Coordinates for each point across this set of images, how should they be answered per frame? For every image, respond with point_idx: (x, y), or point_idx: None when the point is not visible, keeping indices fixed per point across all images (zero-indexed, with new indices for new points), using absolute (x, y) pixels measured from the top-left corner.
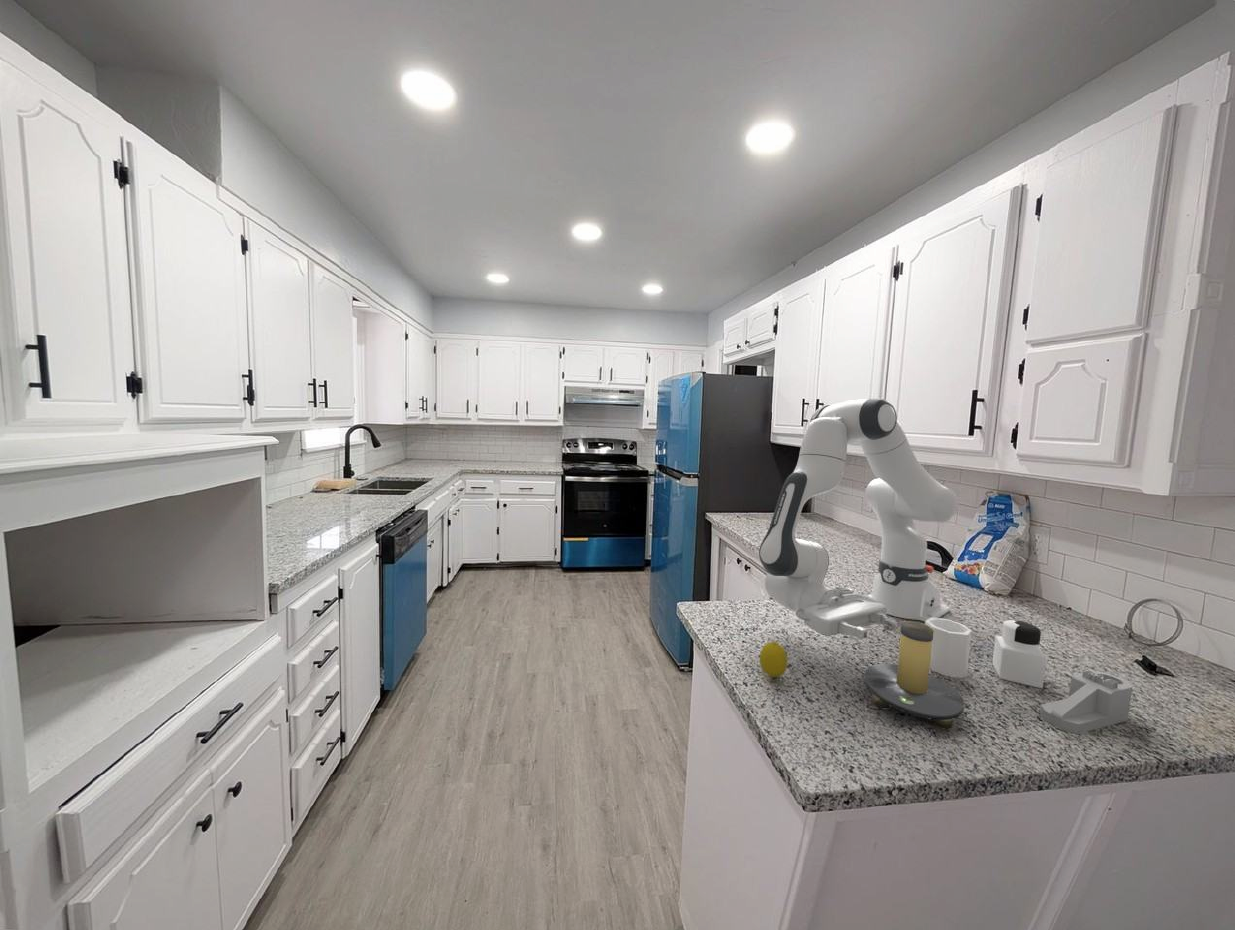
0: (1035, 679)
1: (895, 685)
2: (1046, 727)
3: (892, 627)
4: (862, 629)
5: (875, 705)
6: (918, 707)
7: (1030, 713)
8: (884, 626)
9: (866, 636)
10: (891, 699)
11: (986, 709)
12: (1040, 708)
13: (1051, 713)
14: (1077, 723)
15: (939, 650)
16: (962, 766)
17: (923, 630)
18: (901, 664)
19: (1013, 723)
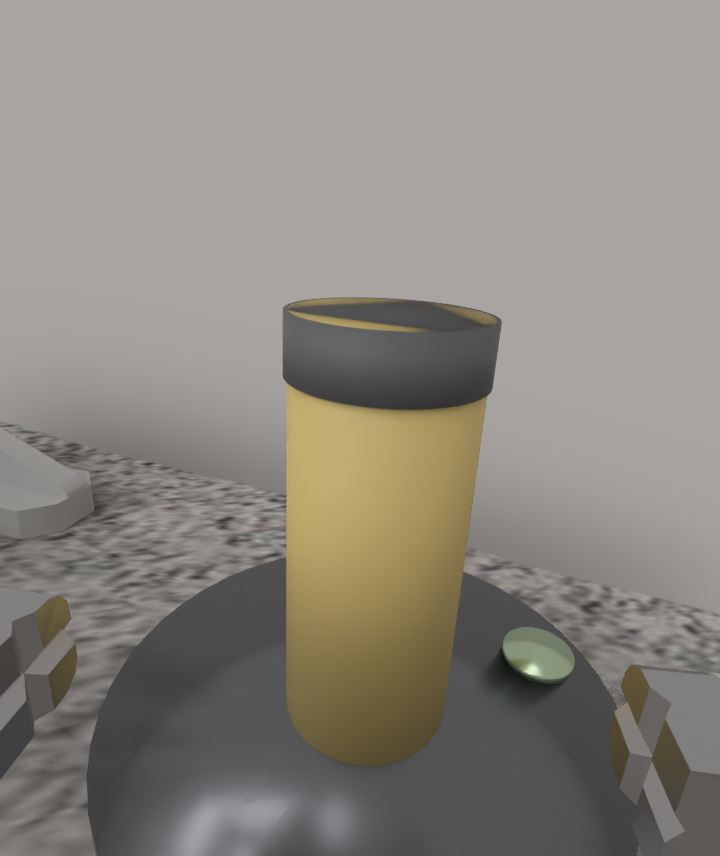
0: None
1: (453, 744)
2: (109, 524)
3: (64, 631)
4: (704, 692)
5: None
6: (522, 618)
7: (39, 549)
8: (4, 746)
9: (620, 724)
10: (611, 697)
11: (110, 611)
12: (18, 523)
13: (69, 495)
14: (86, 472)
15: None
16: (531, 580)
17: (406, 306)
18: (454, 604)
19: (154, 560)
